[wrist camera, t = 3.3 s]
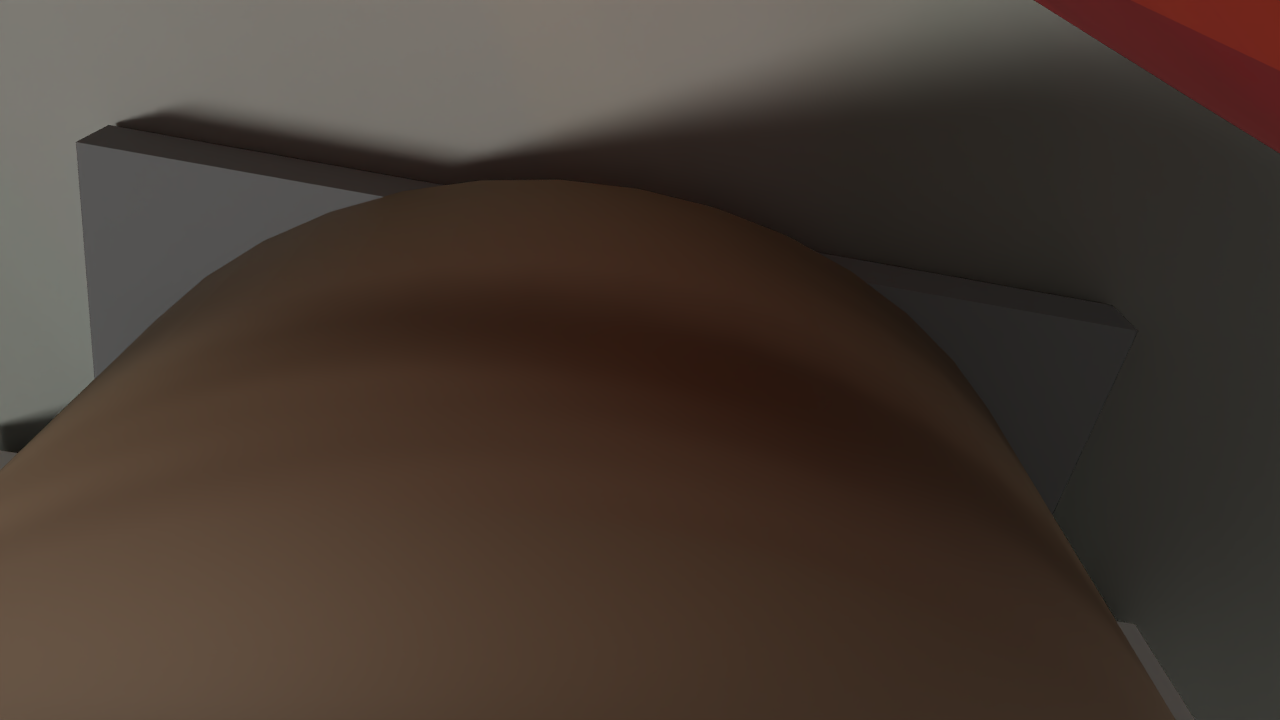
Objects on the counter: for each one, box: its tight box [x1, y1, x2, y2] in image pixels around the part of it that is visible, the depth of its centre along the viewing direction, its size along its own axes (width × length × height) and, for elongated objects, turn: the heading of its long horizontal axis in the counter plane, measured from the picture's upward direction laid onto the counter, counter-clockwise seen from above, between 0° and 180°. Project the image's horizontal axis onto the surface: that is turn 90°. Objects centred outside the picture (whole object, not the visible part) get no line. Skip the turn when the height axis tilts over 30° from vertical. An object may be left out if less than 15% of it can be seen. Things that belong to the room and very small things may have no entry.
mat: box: [76, 125, 1138, 515], centre depth 12 cm, size 10×10×1 cm
